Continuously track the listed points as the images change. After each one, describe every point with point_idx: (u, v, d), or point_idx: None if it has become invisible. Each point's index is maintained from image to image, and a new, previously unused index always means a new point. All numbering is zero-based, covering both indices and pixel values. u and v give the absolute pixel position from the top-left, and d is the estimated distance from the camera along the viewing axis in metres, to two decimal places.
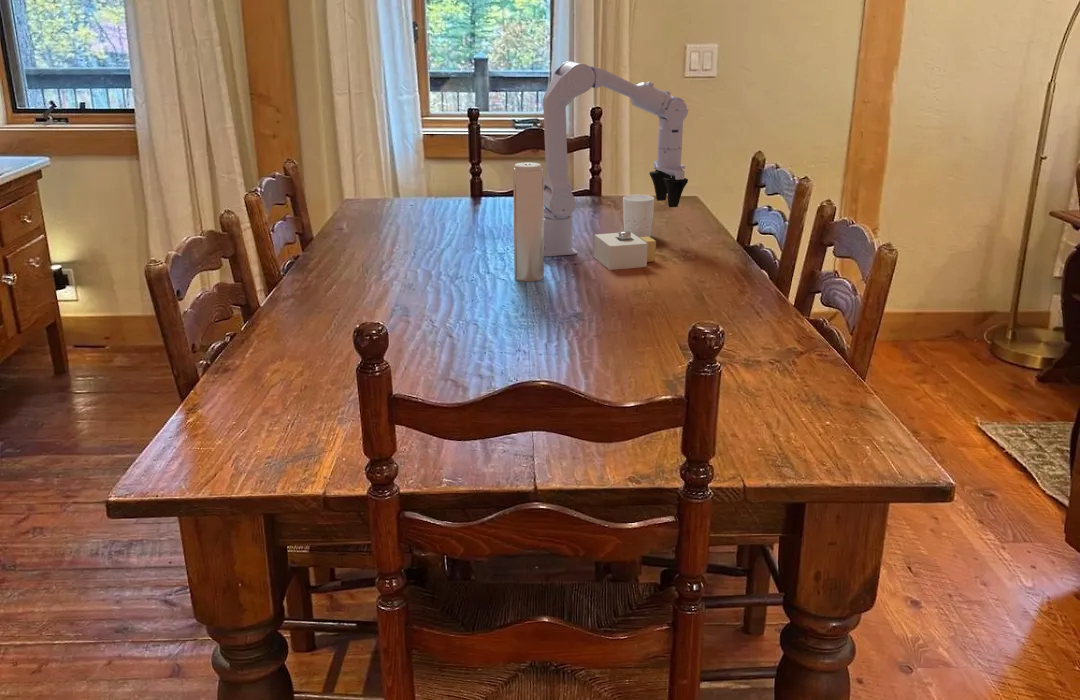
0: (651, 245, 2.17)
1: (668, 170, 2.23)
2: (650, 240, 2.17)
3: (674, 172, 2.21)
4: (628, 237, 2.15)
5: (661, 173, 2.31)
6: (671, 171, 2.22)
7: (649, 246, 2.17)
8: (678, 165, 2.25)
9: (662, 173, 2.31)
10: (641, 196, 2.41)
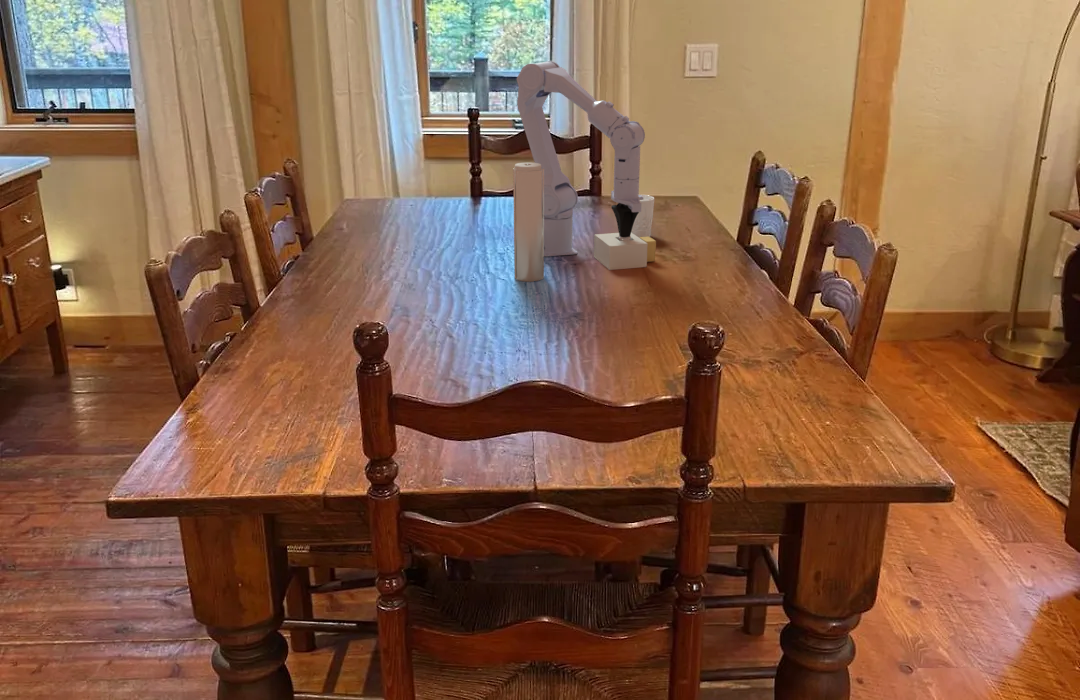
0: (651, 245, 2.17)
1: (624, 202, 2.09)
2: (650, 240, 2.17)
3: (630, 204, 2.08)
4: None
5: None
6: (627, 203, 2.08)
7: (649, 246, 2.17)
8: (635, 196, 2.11)
9: None
10: None
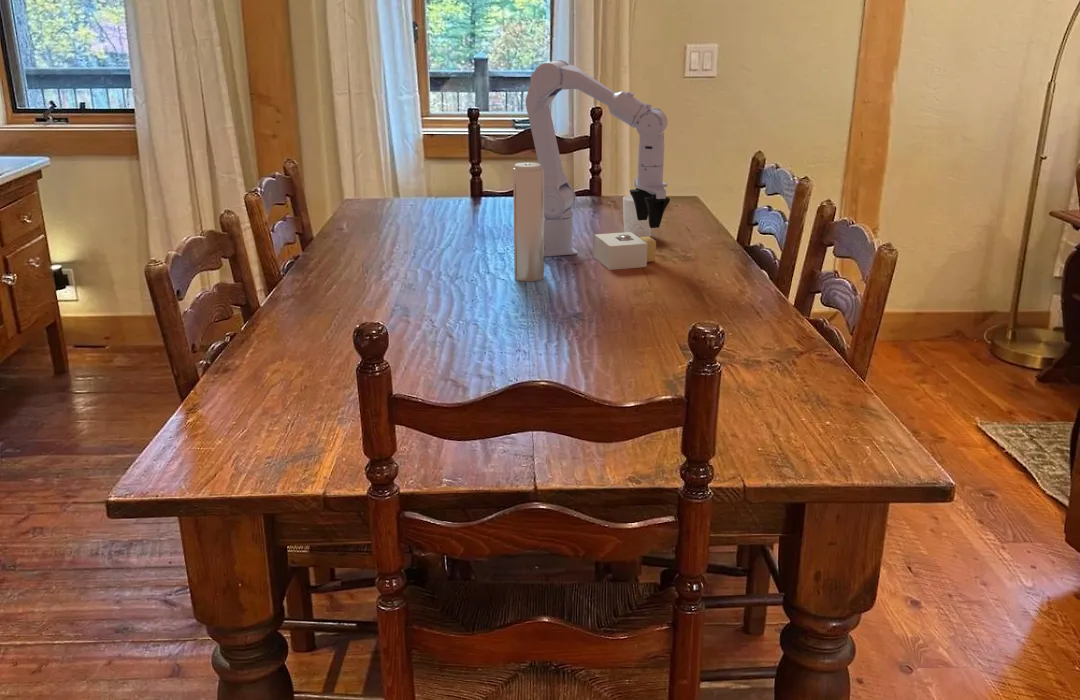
0: (651, 245, 2.17)
1: (649, 189, 2.10)
2: (650, 240, 2.17)
3: (655, 191, 2.08)
4: None
5: (642, 191, 2.18)
6: (652, 190, 2.09)
7: (649, 246, 2.17)
8: (659, 183, 2.12)
9: (643, 191, 2.18)
10: None
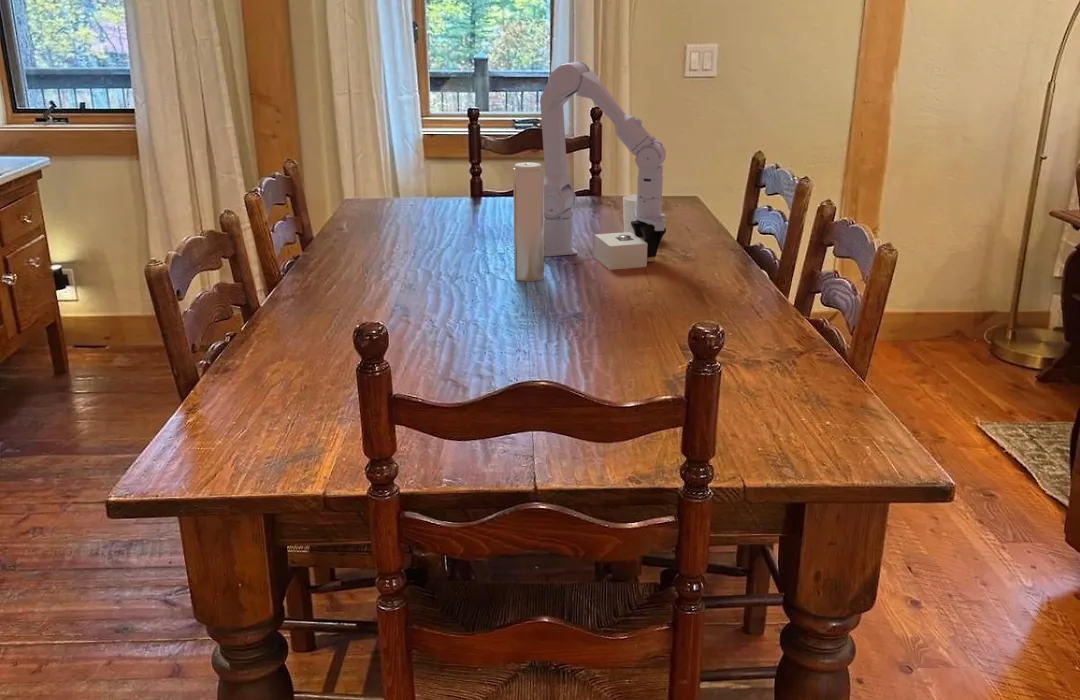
0: None
1: (647, 220, 2.12)
2: None
3: (653, 223, 2.11)
4: None
5: (643, 223, 2.19)
6: (650, 222, 2.12)
7: None
8: (658, 215, 2.14)
9: (644, 223, 2.19)
10: None
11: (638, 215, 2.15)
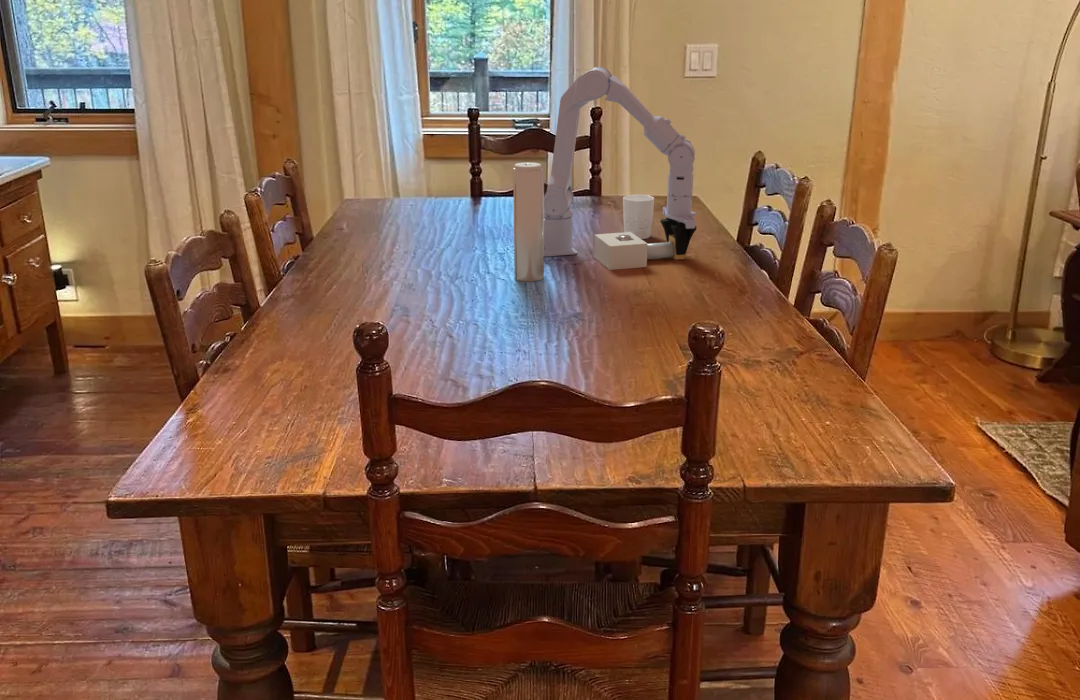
0: None
1: (678, 218, 2.14)
2: None
3: (684, 221, 2.12)
4: None
5: (673, 221, 2.21)
6: (681, 220, 2.13)
7: None
8: (688, 213, 2.16)
9: (674, 221, 2.21)
10: (641, 196, 2.41)
11: (669, 213, 2.17)
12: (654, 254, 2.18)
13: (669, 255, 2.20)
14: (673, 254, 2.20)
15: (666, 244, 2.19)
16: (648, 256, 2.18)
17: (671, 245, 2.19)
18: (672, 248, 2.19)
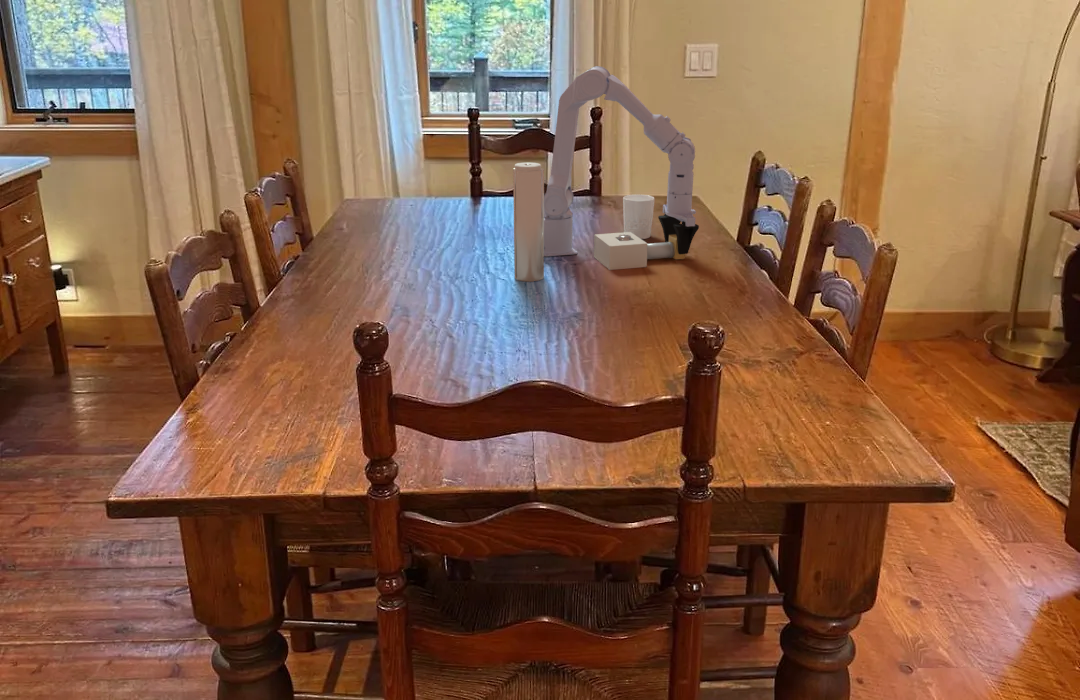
0: None
1: (678, 216, 2.14)
2: None
3: (684, 219, 2.12)
4: None
5: (670, 217, 2.22)
6: (681, 217, 2.13)
7: None
8: (688, 210, 2.16)
9: (671, 217, 2.22)
10: (641, 196, 2.41)
11: (668, 211, 2.17)
12: (654, 254, 2.18)
13: (669, 255, 2.20)
14: (673, 254, 2.20)
15: (666, 244, 2.19)
16: (648, 256, 2.18)
17: (671, 245, 2.19)
18: (672, 248, 2.19)
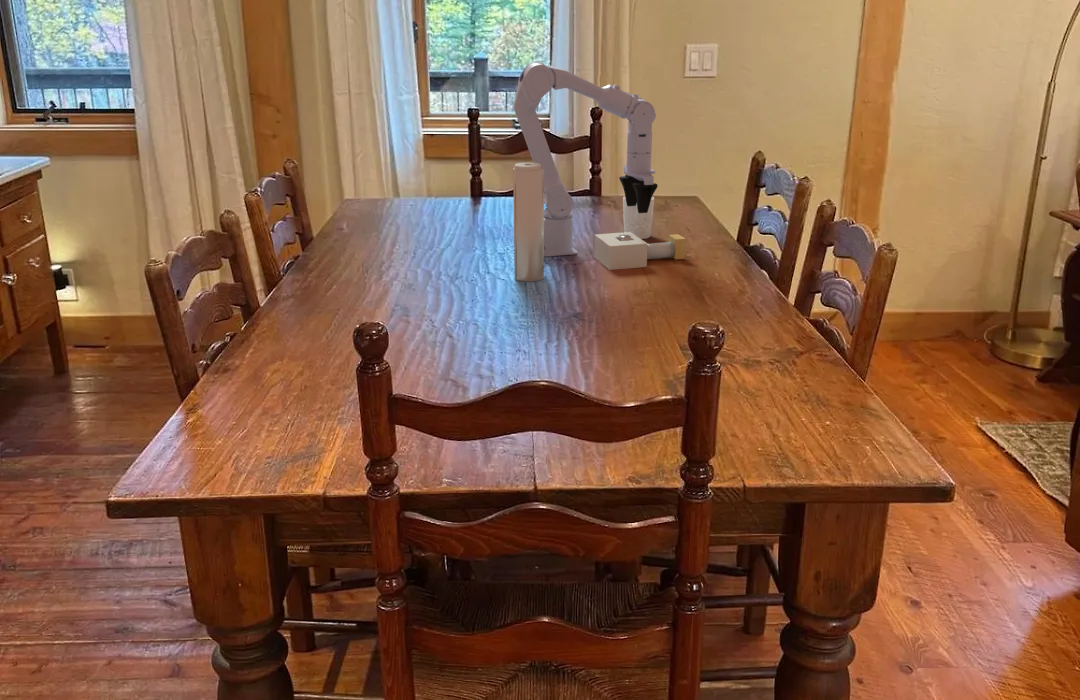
0: (681, 243, 2.19)
1: (637, 175, 2.18)
2: (680, 238, 2.19)
3: (643, 177, 2.16)
4: None
5: (631, 178, 2.26)
6: (640, 176, 2.17)
7: (679, 244, 2.19)
8: (647, 170, 2.20)
9: (632, 178, 2.26)
10: None
11: (628, 170, 2.21)
12: (654, 254, 2.18)
13: (669, 255, 2.20)
14: (673, 254, 2.20)
15: (666, 244, 2.19)
16: (648, 256, 2.18)
17: (671, 245, 2.19)
18: (672, 248, 2.19)
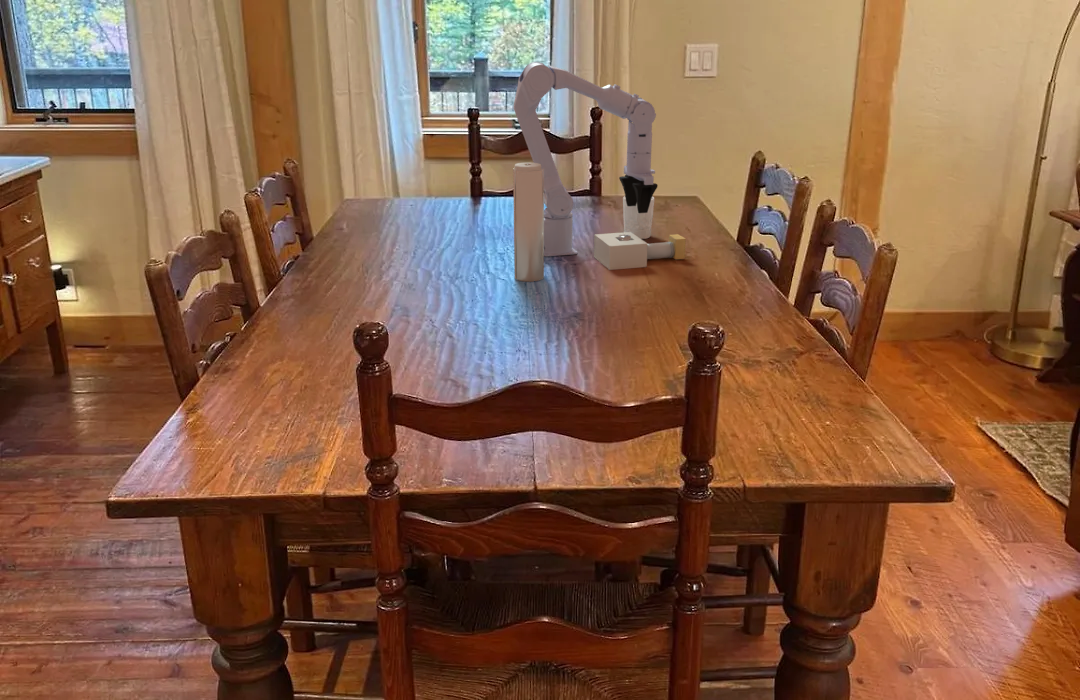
0: (681, 243, 2.19)
1: (637, 175, 2.18)
2: (680, 238, 2.19)
3: (643, 177, 2.16)
4: None
5: (631, 178, 2.26)
6: (640, 176, 2.17)
7: (679, 244, 2.19)
8: (647, 170, 2.20)
9: (632, 178, 2.26)
10: None
11: (628, 170, 2.21)
12: (654, 254, 2.18)
13: (669, 255, 2.20)
14: (673, 254, 2.20)
15: (666, 244, 2.19)
16: (648, 256, 2.18)
17: (671, 245, 2.19)
18: (672, 248, 2.19)
